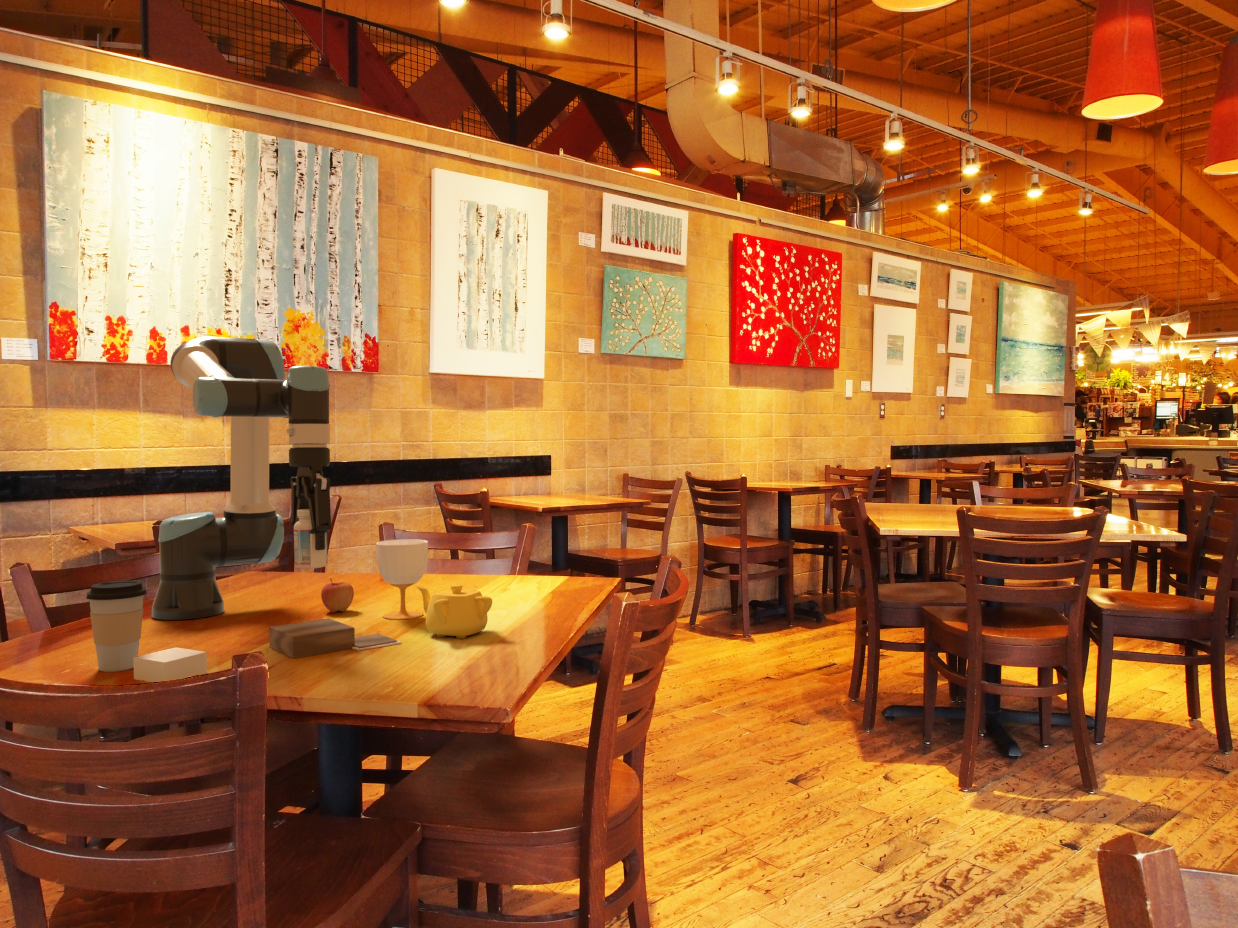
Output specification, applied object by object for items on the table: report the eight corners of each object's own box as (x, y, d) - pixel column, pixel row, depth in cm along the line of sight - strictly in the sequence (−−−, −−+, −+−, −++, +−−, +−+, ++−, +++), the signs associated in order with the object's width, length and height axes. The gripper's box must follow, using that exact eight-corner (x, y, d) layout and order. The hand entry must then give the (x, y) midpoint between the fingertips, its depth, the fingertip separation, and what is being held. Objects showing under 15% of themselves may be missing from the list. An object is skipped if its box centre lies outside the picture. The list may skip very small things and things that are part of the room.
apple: (358, 612, 205) (357, 578, 205) (326, 616, 201) (326, 581, 201) (348, 607, 212) (348, 574, 211) (317, 610, 207) (317, 577, 207)
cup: (365, 618, 198) (365, 543, 198) (397, 609, 209) (396, 538, 208) (409, 622, 194) (408, 546, 193) (439, 612, 204) (438, 540, 204)
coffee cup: (104, 661, 160) (102, 580, 160) (157, 660, 161) (156, 579, 161) (76, 675, 151) (74, 588, 151) (133, 673, 152) (131, 588, 151)
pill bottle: (334, 565, 172) (333, 508, 172) (313, 569, 166) (312, 510, 166) (308, 564, 174) (307, 508, 174) (287, 568, 168) (286, 510, 168)
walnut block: (269, 647, 171) (269, 626, 171) (328, 637, 179) (328, 618, 179) (293, 658, 162) (293, 636, 162) (354, 647, 170) (354, 627, 170)
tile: (337, 642, 175) (337, 639, 175) (380, 635, 181) (379, 632, 181) (357, 650, 168) (357, 647, 168) (401, 643, 174) (401, 640, 174)
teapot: (426, 643, 174) (425, 592, 174) (416, 630, 186) (415, 582, 185) (493, 637, 179) (493, 587, 179) (479, 625, 191) (479, 578, 191)
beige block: (133, 680, 149) (133, 657, 149) (176, 669, 156) (175, 647, 156) (165, 686, 145) (164, 662, 145) (206, 674, 152) (206, 651, 152)
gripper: (271, 446, 174) (273, 562, 175) (310, 446, 160) (312, 572, 160) (308, 446, 179) (310, 558, 180) (349, 446, 165) (350, 568, 165)
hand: (311, 564), depth 170 cm, fingers closed on pill bottle, 6 cm apart
